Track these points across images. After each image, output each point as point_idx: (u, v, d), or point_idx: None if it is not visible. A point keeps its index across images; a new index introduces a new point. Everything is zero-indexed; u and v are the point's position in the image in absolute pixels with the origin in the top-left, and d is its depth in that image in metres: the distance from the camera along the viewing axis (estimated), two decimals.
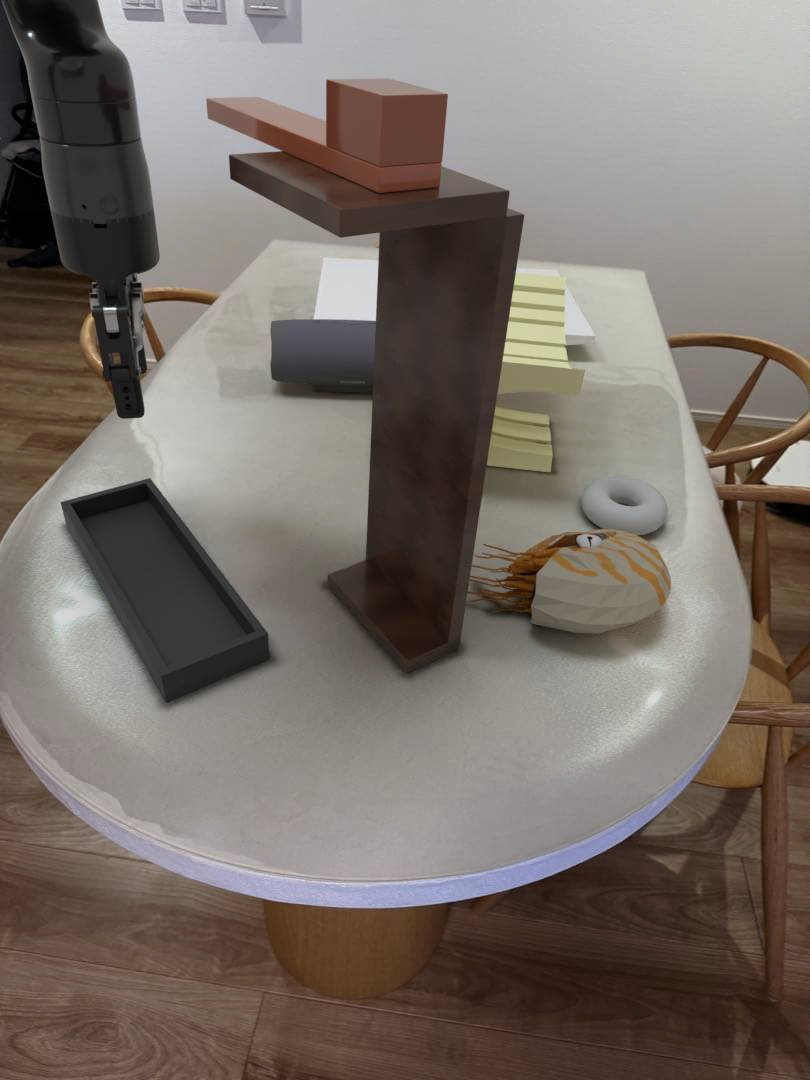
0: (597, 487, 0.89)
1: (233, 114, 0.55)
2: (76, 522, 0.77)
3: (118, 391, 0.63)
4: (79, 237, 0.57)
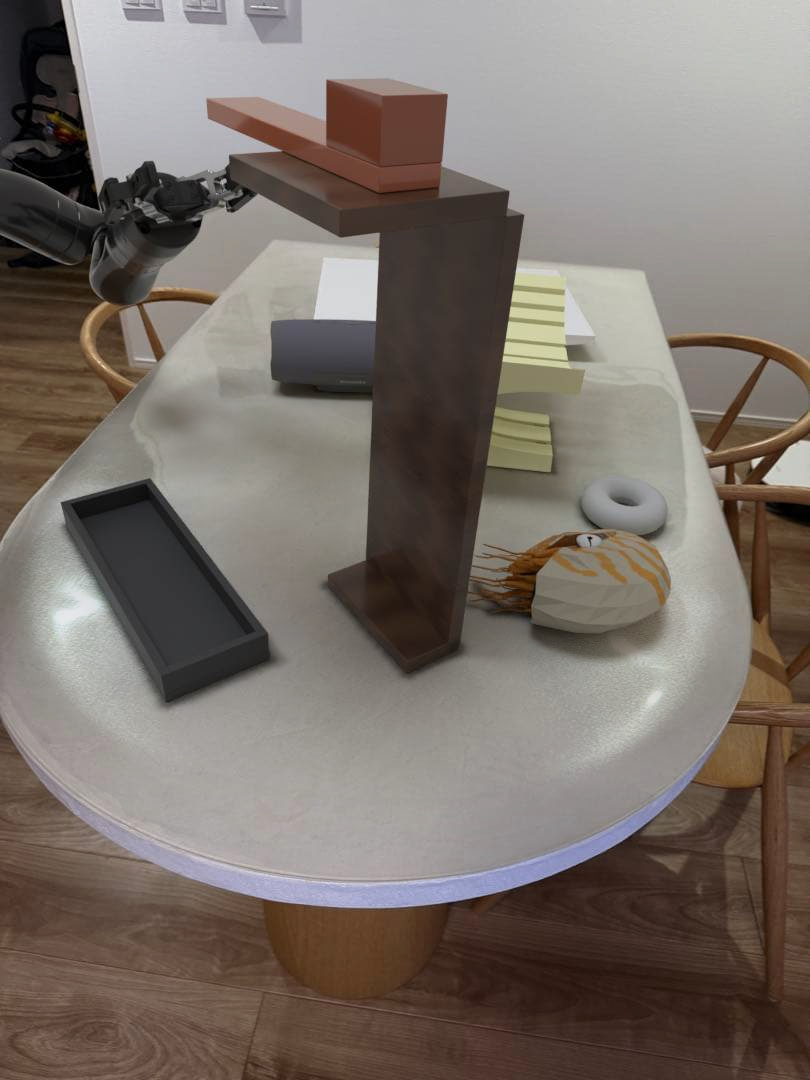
0: (597, 487, 0.89)
1: (233, 114, 0.55)
2: (76, 522, 0.77)
3: None
4: None
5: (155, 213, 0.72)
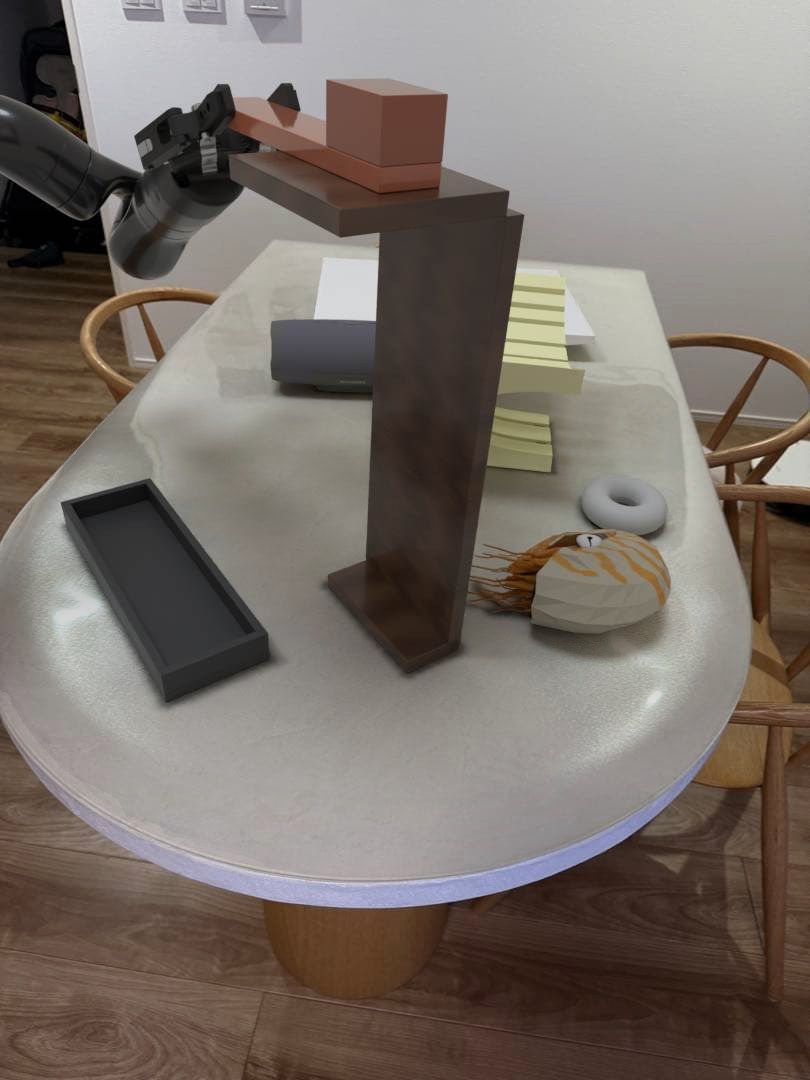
0: (597, 487, 0.89)
1: None
2: (76, 522, 0.77)
3: None
4: None
5: (213, 156, 0.60)
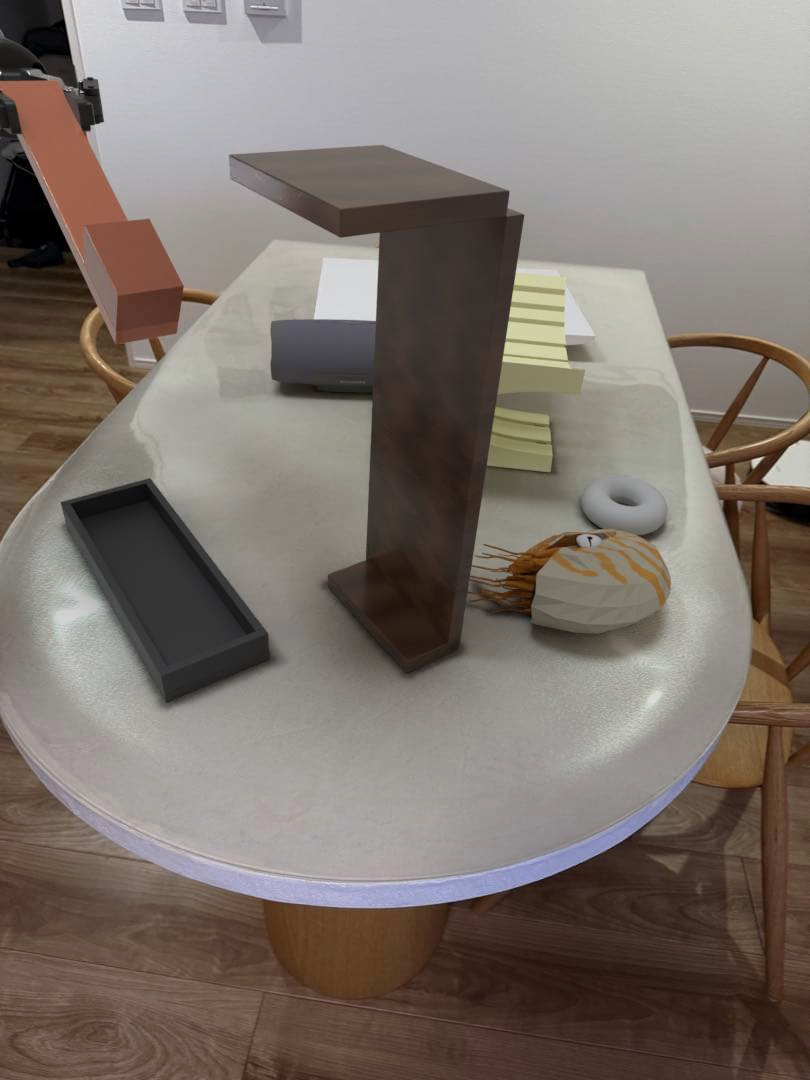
0: (597, 487, 0.89)
1: None
2: (76, 522, 0.77)
3: None
4: None
5: None
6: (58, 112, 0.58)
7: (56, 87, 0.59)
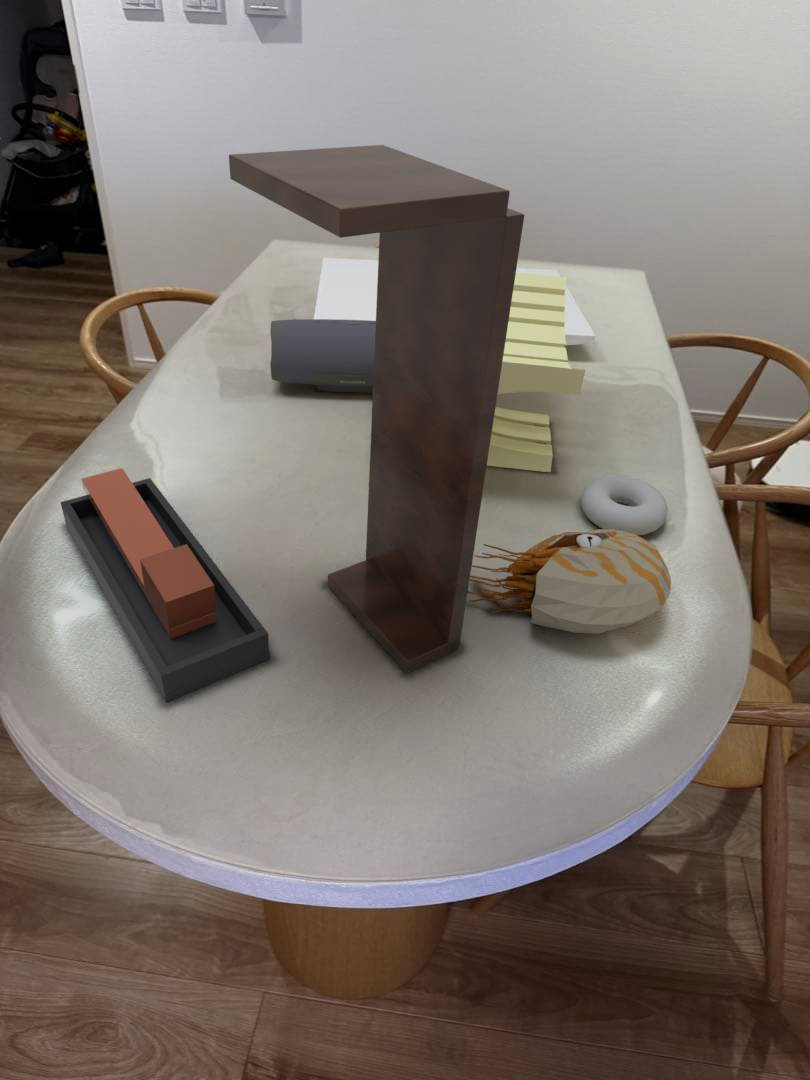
0: (597, 487, 0.89)
1: (97, 507, 0.79)
2: (76, 522, 0.77)
3: None
4: None
5: None
6: (123, 488, 0.81)
7: (121, 472, 0.83)
